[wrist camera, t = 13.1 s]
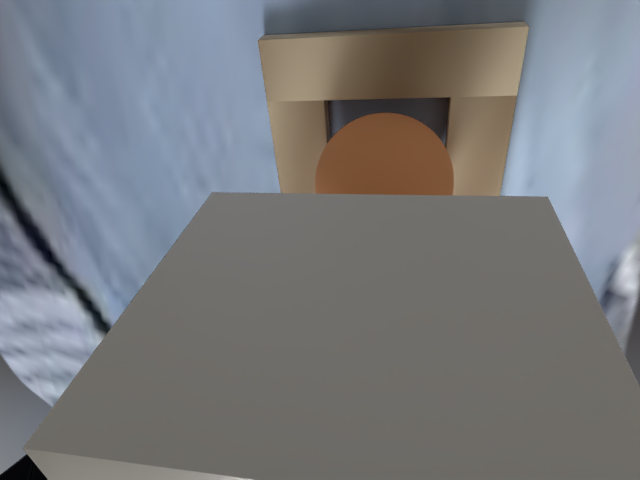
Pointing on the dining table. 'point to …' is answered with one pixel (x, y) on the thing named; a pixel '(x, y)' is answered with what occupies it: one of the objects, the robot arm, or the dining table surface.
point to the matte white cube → (355, 351)
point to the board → (397, 91)
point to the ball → (385, 159)
